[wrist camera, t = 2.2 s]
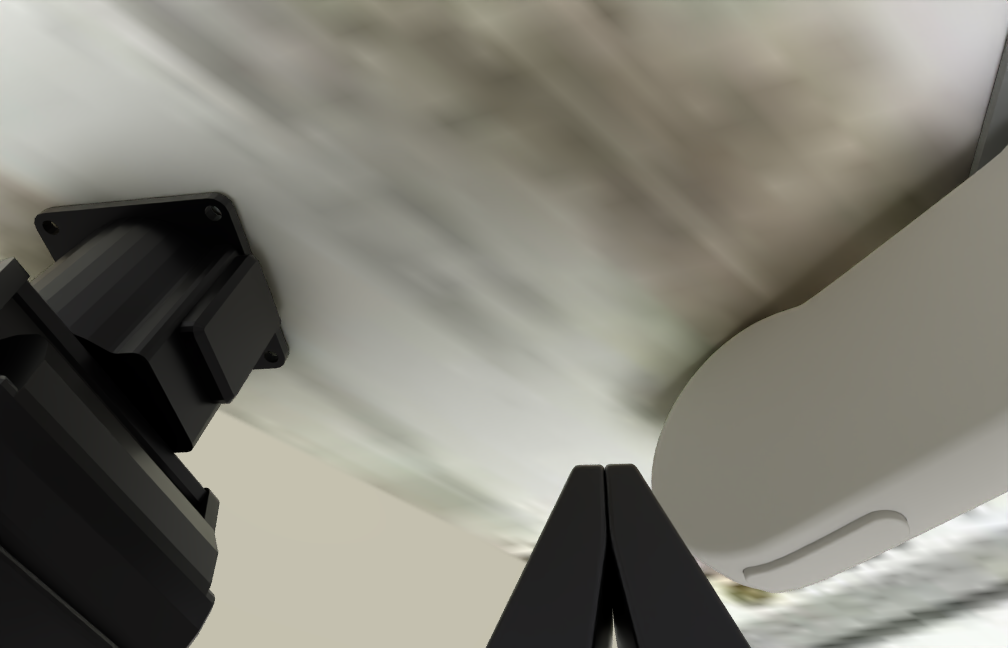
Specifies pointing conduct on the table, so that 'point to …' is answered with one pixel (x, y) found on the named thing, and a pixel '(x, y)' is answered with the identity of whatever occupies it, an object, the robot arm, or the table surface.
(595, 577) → the robot arm
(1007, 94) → the mat
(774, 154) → the table surface
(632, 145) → the table surface
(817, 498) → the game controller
